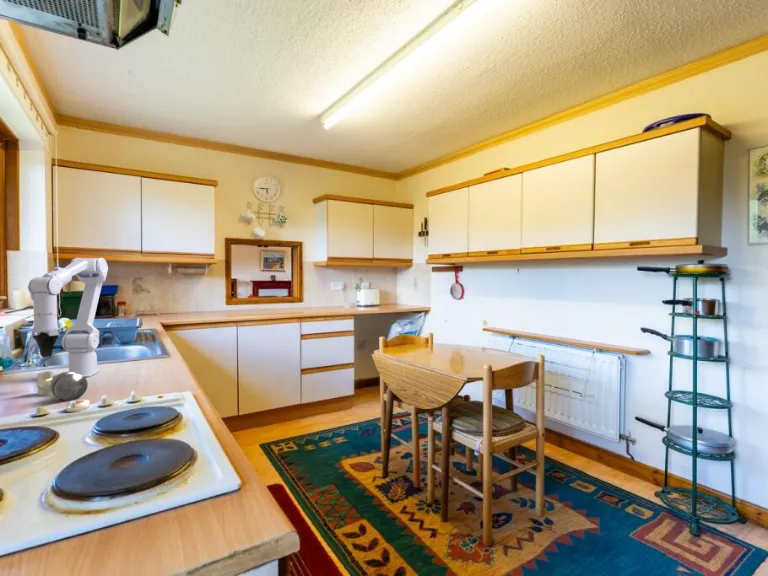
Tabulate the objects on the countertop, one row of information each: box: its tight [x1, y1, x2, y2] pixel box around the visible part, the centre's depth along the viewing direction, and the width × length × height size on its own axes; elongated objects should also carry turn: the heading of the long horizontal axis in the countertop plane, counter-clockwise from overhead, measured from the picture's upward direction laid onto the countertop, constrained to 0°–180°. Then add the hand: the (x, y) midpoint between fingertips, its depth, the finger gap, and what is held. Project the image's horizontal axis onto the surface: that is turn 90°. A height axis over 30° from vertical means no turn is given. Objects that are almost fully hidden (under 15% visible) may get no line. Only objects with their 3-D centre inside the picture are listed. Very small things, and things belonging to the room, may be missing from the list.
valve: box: [36, 370, 54, 396], centre depth 123 cm, size 7×7×12 cm
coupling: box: [50, 371, 89, 402], centre depth 118 cm, size 5×8×8 cm, turn 145°
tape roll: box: [65, 399, 90, 413], centre depth 109 cm, size 5×5×2 cm
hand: (46, 356), depth 129 cm, fingers closed
